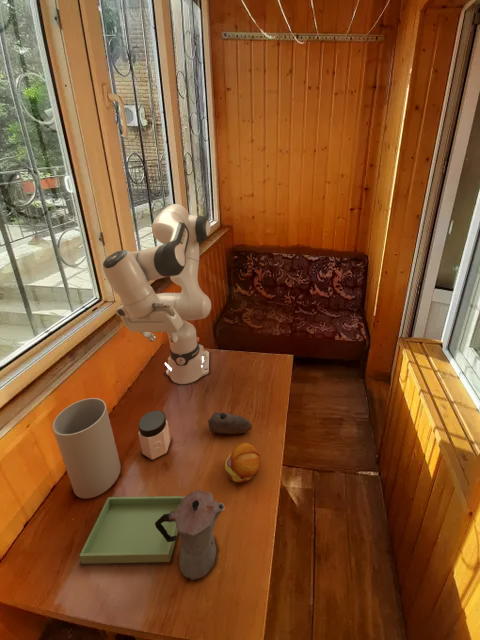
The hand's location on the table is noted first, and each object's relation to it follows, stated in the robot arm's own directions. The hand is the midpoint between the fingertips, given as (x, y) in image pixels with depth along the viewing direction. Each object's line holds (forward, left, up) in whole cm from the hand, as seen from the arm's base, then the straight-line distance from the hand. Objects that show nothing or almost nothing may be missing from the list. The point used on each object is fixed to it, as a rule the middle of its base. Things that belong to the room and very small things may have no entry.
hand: (163, 340), depth 95 cm
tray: (+28, -2, -39) cm, 49 cm away
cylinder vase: (+14, -20, -40) cm, 46 cm away
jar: (+4, -6, -40) cm, 40 cm away
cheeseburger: (+12, +24, -40) cm, 48 cm away
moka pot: (+34, +15, -40) cm, 55 cm away
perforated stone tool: (-2, +18, -40) cm, 44 cm away
